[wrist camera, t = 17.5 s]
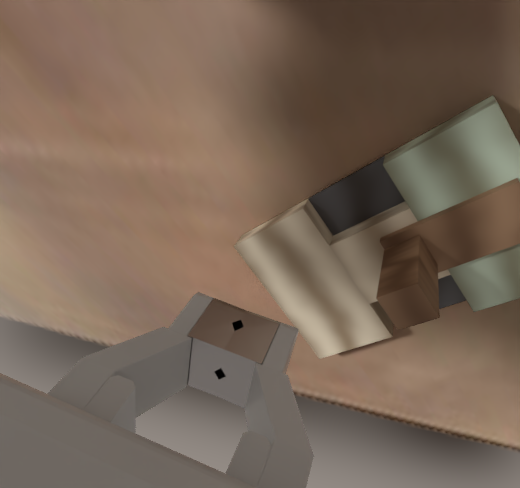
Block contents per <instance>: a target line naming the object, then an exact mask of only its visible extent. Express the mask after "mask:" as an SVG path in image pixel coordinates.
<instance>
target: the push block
mask: <svg viewBox="0 0 520 488" xmlns="http://www.w3.org/2000/svg"><path fill="white" fill-rule="evenodd" d="M380 243H381V245H382V247H383V248H384V254H383V260H382V266H381V272H380V278H379V284H378V290H377V296H376V299H377V300H378V302H379V303H380V305H381V306H382V308H383V309H384V311H385V312H386V313H387V315H388V316H389V318H390V319H391V321H392V322H393V324H394V325H395V327H396V328H397V330H400V329H404V328H407V327H410V326H414V325H417V324H420V323H423V322H427V321H430V320H433V319H437V318H440V315H439V289H438V273H439V272H442V271H445V270H448V269H450V268H453V267H456V266H459V265H462V264H464V263H467V262H470V261H473V260H475V259H478V258H481V257H484V256H486V255H489V254H492V253H495V252H498V251H500V250H503V249H506V248H509V247H511V246H514V245H517V244H520V182H519V180H518V178H516V179H513V180H511V181H509V182H506V183H504V184H502V185H500V186H497V187H495V188H493V189H490V190H488V191H486V192H484V193H481V194H479V195H477V196H475V197H472V198H470V199H468V200H465V201H463V202H461V203H459V204H456V205H454V206H452V207H449V208H447V209H445V210H443V211H440V212H438V213H436V214H433V215H431V216H429V217H427V218H424V219H422V220H420V221H418V222H415V223H413V224H411V225H408V226H406V227H404V228H402V229H399V230H397V231H395V232H392V233H390V234H388V235H386V236H383V237H381V238H380Z"/></svg>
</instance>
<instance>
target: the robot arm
mask: <svg viewBox="0 0 520 488" xmlns="http://www.w3.org/2000/svg"><path fill="white" fill-rule="evenodd" d="M298 331H299V329H298V328H295V327H293V326H290V325H287V324H284V323H281V322H278V321H275V320H272V319H269V318H267V317H264V316H261V315H258V314H255V313H252V312H250V311H246V310H244V309H241V308H239V307H236V306H234V305H231V304H228V303H226V302H223V301H221V300H218V299H216V298H215V299H214V298H212V297H209V296H207V295H204V294H202V293H199V292H198V293H196V294H195V295H194V296H193V297H192V298H191V300H190V301H189V302H188V303H187V305H186V306H185V307H184V309H183V310H182V311H181V313H180V314H179V315H178V316H177V318H176V319H175V320H174V322H173V323H172V324H171V326H170V327H169V328H165V327H162V328H159V329H156V330H154V331H151V332H149V333H146V334H143V335H141V336H138V337H135V338H133V339H130V340H127V341H125V342H122V343H119V344H117V345H114V346H111V347H109V348H106V349H104V350H101V351H98V352H96V353H93V354H90V355H88V356H85V357H82V358H81V359H80V360H79V361H78V362H77V363H76V364H75V365H74V366H73V367H72V368H71V369H70V371H69V372H68V373H67V374H66V375H65V376H64V377H63V378H62V379H61V380H60V381H59V382H58V383H57V384H56V385H55V386H54V387H53V388H52V390H50V392H49V393H48V394H46V393H44V392H41V391H39V390H37V389H34V388H32V387H30V386H28V385H26V384H23V383H21V382H19V381H17V380H14V379H12V378H10V377H8V376H5V375H3V374H1V373H0V488H306V485H307V481H308V477H309V473H310V469H311V465H312V461H313V457H314V455H313V452H312V449H311V446H310V443H309V440H308V437H307V434H306V431H305V427H304V425H303V421H302V418H301V415H300V412H299V409H298V406H297V403H296V399H295V396H294V393H293V390H292V387H291V384H290V381H289V378H288V375H286V371H287V367H288V364H289V361H290V358H291V355H292V351H293V348H294V345H295V342H296V338H297V335H298ZM187 385H189V386H191V387H194V388H196V389H199V390H202V391H205V392H207V393H210V394H212V395H215V396H217V397H220V398H222V399H224V400H226V401H229V402H231V403H233V404H235V405H238V406H240V407H242V408H245V415H246V422H247V428H248V431H247V432H245V433H243V435H242V437H241V439H240V442H239V444H238V446H237V448H236V451H235V453H234V455H233V458H232V460H231V462H230V464H229V467H228V469H227V471H226V474H225V473H223V472H221V471H218V470H216V469H214V468H211V467H209V466H207V465H205V464H203V463H200V462H198V461H196V460H193V459H191V458H189V457H187V456H185V455H182V454H180V453H178V452H176V451H173V450H171V449H169V448H167V447H164V446H162V445H160V444H158V443H155V442H153V441H151V440H149V439H146V438H144V437H142V436H140V435H137V434H135V418H136V417H138V416H140V415H141V414H143V413H144V412H146V411H148V410H149V409H151V408H153V407H154V406H156V405H157V404H159V403H161V402H162V401H164V400H166V399H167V398H169V397H171V396H172V395H174V394H176V393H177V392H179V391H181V390H182V389H184V388H186V387H187Z"/></svg>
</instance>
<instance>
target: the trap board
mask: <svg viewBox="0 0 520 488" xmlns="http://www.w3.org/2000/svg"><path fill="white" fill-rule="evenodd" d="M516 178H518V180H519V182H520V145H519V143H518V141H517V139H516V137H515V135H514V133H513V131H512V130H511V128H510V126H509V124H508V122H507V120H506V118H505V116H504V114H503V112H502V110H501V108H500V106H499V105H498V103H497V101H496V99H495V98H494V96H493V95H492V96H491V97H489V98H487V99H485V100H483V101H482V102H480V103H478V104H476V105H474V106H473V107H471V108H469V109H467V110H465V111H464V112H462V113H460V114H458V115H457V116H455V117H453V118H451V119H449V120H448V121H446V122H444V123H442V124H440V125H439V126H437V127H435V128H433V129H431V130H430V131H428V132H426V133H424V134H423V135H421V136H419V137H417V138H415V139H414V140H412V141H410V142H408V143H406V144H405V145H403V146H401V147H399V148H397V149H396V150H394V151H392V152H390V153H389V154H387V155H385V156H383V157H381V158H380V159H378V160H376V161H374V162H372V163H371V164H369V165H367V166H365V167H363V168H362V169H360V170H358V171H356V172H355V173H353V174H351V175H349V176H347V177H346V178H344V179H342V180H340V181H338V182H337V183H335V184H333V185H331V186H329V187H328V188H326V189H324V190H322V191H321V192H319V193H317V194H315V195H313V196H312V197H310V198H308V199H306V200H304V201H303V202H301V203H299V204H297V205H295V206H294V207H292V208H290V209H288V210H287V211H285V212H283V213H281V214H279V215H278V216H276V217H274V218H272V219H270V220H269V221H267V222H265V223H263V224H261V225H260V226H258V227H256V228H254V229H253V230H251V231H249V232H247V233H245V234H244V235H242V236H241V237H240V239H239V240H238V241H237V243H236V244H235V245H234V248H235V249H236V250H237V252H238V253H239V254H240V256H241V257H242V258H243V259H244V261H245V262H246V263H247V265H248V266H249V267H250V269H251V270H252V271H253V273H254V274H255V275H256V276H257V278H258V279H259V280H260V282H261V283H262V284H263V286H264V287H265V288H266V290H267V291H268V292H269V293H270V295H271V296H272V297H273V299H274V300H275V301H276V303H277V304H278V305H279V307H280V308H281V309H282V310H283V312H284V313H285V314H286V316H287V317H288V318H289V320H290V321H291V322H292V324H293V325H294V326H295V327H296V328H298V329H299V333H300V334H301V335H302V337H303V338H304V339H305V341H306V342H307V343H308V344H309V346H310V347H311V348H312V350H313V351H314V352H315V354H316V355H317V356H318V358H319V359H321V358H324V357H327V356H331V355H334V354H337V353H341V352H344V351H347V350H350V349H354V348H357V347H360V346H364V345H367V344H370V343H374V342H377V341H380V340H383V339H387V338H390V337H392V334H393V325H394V324H393V322H392V321H391V319H390V318H389V316H388V315H387V313H386V312H385V311H384V309H383V308H382V306H381V305H380V303H379V302H378V300H377V299H376V296H377V290H378V284H379V278H380V272H381V266H382V260H383V254H384V248H383V247H382V245H381V243H380V238H381V237H383V236H386V235H388V234H390V233H392V232H395V231H397V230H399V229H402V228H404V227H406V226H408V225H411V224H413V223H415V222H418V221H420V220H422V219H424V218H427V217H429V216H431V215H433V214H436V213H438V212H440V211H443V210H445V209H447V208H449V207H452V206H454V205H456V204H459V203H461V202H463V201H465V200H468V199H470V198H472V197H475V196H477V195H479V194H481V193H484V192H486V191H488V190H490V189H493V188H495V187H497V186H500V185H502V184H504V183H506V182H509V181H511V180H513V179H516ZM438 289H439V309H440V308H443V307H447V306H450V305H453V304H456V303H459V302H462V301H465V300H467V301H468V303H469V305H470V306H471V308H472V310H473V311H474V312H476V311H479V310H482V309H486V308H489V307H492V306H496V305H499V304H502V303H506V302H509V301H512V300H515V299H519V298H520V244H517V245H514V246H511V247H509V248H506V249H503V250H500V251H498V252H495V253H492V254H489V255H486V256H484V257H481V258H478V259H475V260H473V261H470V262H467V263H464V264H462V265H459V266H456V267H453V268H450V269H448V270H445V271H442V272H439V273H438Z"/></svg>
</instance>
